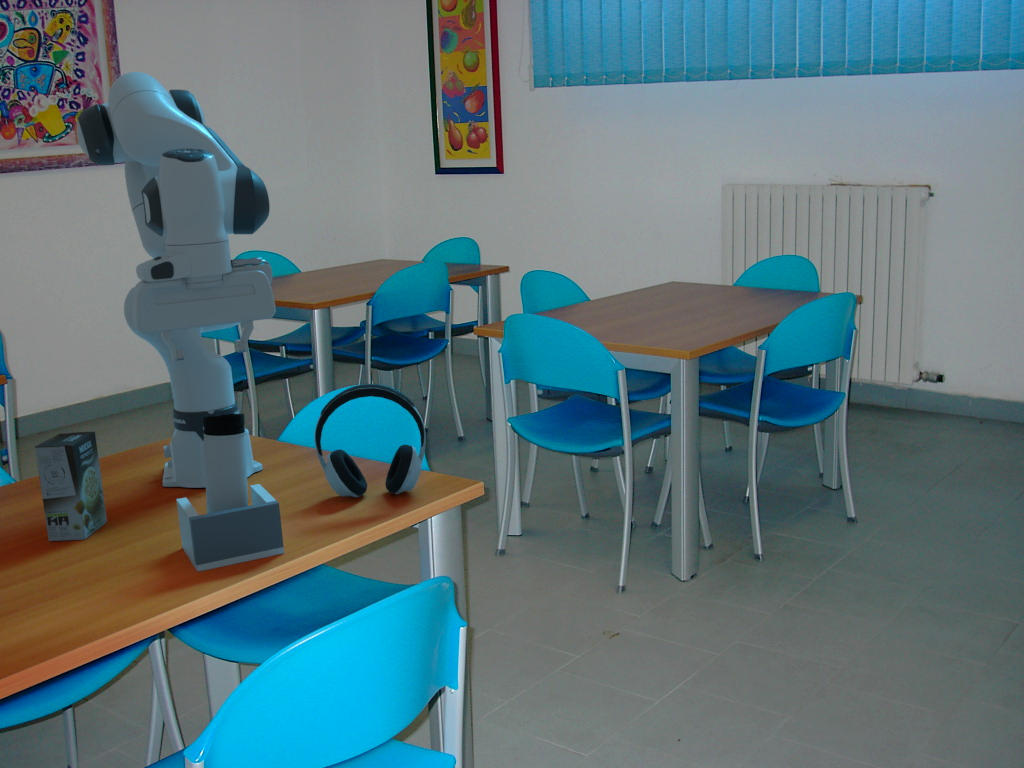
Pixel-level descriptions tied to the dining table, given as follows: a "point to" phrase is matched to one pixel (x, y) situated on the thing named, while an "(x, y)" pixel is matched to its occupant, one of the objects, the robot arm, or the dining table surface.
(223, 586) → the dining table surface
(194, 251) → the robot arm
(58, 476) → the coffee box
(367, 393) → the headphones
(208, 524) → the u-shaped bracket
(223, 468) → the travel mug
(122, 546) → the dining table surface
